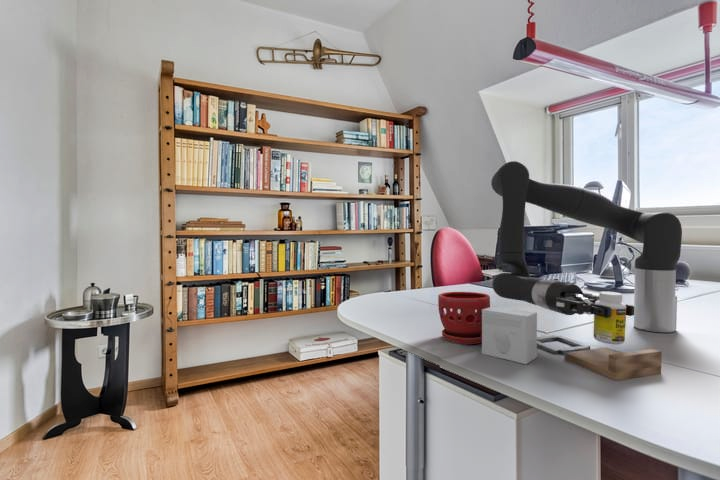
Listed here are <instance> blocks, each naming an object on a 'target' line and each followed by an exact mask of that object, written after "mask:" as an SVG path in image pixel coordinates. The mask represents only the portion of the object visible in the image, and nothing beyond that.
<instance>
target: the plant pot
mask: <svg viewBox="0 0 720 480" xmlns="http://www.w3.org/2000/svg"><path fill="white" fill-rule="evenodd" d="M437 298H438V301H437V303H438V304H437V305H438V306H437V307H438V313H439V318H440V321H441V325H442V328H444V329H442V331H441V335H442V337H443V338H445V340H446V341H450V342H453V343H456V344H462V345H473V344H475V345H478V344H480V343H482V309H486V308H489V307H491V296H490V295H489V294H487V293H481V292H471V291H448V292H442V293H439V294H438V296H437ZM444 309H445V311H444ZM451 310H452V311H451ZM458 310H460V312H458Z"/></svg>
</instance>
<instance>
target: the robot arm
mask: <svg viewBox="0 0 720 480" xmlns="http://www.w3.org/2000/svg"><path fill="white" fill-rule="evenodd" d="M490 185H491V188H492V189H493V191H494V192H495V194H497V195H499V196H500V197H502V213H501V219H500V224H499V225H500V226H499V231H498V232H499V233H498V260H499V263H500V264H502V265H505V266H507V267H508V268H509V270H510V272H502V273H498V274H496V275H495V277H494V278H493V280H492V285H491V286H492V289H493V291H494V293H495V294H496V295H497V296H499V297H501V298H504V299H508V300H514V301H521V302H526V303H528V304H531V305H535V306H538V307H541V308H542V309H545V310H548V311H552V312H555V313H558V314H562V315H564V316H573V315H575V314H577V315H579V316H580V315H584V314H585V315H588V316H590V315H593V316H594V315H598V316H601V317H605V318H610V317H611V308H610V307H608V306H603V305H599V304H595V302H596V301H598V300H600V299H599V295H595V294H592V293H588V292H583V290H582V289H581V288H580V286H578V285H577V284H574V283H570V282H565V281H561V280H560V281H559V280H554V279H544V278H538V277H532V276H530V275H531V274H530V273H529V269H528V264H527V261H526V259H525V214H526V213H525V212H526V203H527V204H531V205H534V206H537V207H540V208H542V209H544V210H548V211H551V212H553V213H555V214H559V215H561V216H564V217H566V218H570V219H573V220H575V221H579V222H582V223H585V224H588V225H593V226H596V227H600V228H604V229H608V230H612V231H614V232H617V234H621V235H624V236H626V237H628V238H629V239H631V240H634V241H636V242H638V243H640V244H643V245H642V252H641V254H640V255H639V256H637V257H636V258H635V261H634V287H633V288H634V292H633V293H634V294H633V295H634V296H633V299H634V300H633V304H628V303H624V304H625V305H626V316H629V317H632V316H633V327H634V328H636V329H639V330H643V331H646V332H653V333H654V332H655V333H674V332H675V331H676V330H677V320H678V319H677V316H678V315H677V312H678V311H677V310H678V296H676V281H677V280H676V278H677V277H676V276H677V275H676V274H677V264H678V262H679V260H680V258H681V253H682V252H681V249H682V240H683V239H682V238H683V236H682V235H683V229H682V224H681V221H680V219H679V218H678V217H677V216H676V215H675V214H673V213H670V212H667V211H666V212H665V211H662V212H661V211H660V212H645V211H644V212H643V211H639V210H635V209H630V208H627V207H624V206H621V205H619V204H616V203H615V202H613V201H612V200H611V199H609V198H607V196H604V195H602V194H601V193H599V192H596V191H594V190H591V189H587V188H584V187H581V186H577V185H573V184H572V185H571V184H563V183H553V182H552V183H551V182H549V183H548V182H543V181H539V180H536V179H533V178H531V177H530V171H529V169H528V167H527V166H526V165H525V164H524V163H522V162H521V161H517V160H511V161H508V162H506V163H504V164H503V165H501V167H499V168H498V169H497V171H496V172H495V173H494V175H493V176H492V178H491V183H490Z"/></svg>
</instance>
